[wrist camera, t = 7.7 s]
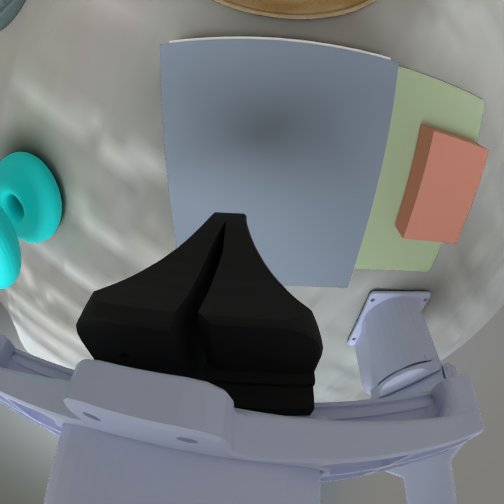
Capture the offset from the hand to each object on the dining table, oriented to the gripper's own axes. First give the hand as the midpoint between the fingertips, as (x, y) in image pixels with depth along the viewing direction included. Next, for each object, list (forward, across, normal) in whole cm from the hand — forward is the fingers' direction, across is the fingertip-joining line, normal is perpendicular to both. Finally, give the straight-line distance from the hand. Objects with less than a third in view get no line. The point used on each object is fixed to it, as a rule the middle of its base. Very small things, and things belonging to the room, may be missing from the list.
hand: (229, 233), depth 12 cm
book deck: (+10, -2, 0) cm, 10 cm away
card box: (+7, -16, 0) cm, 17 cm away
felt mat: (+10, -14, 0) cm, 17 cm away
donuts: (+10, +22, +2) cm, 24 cm away
